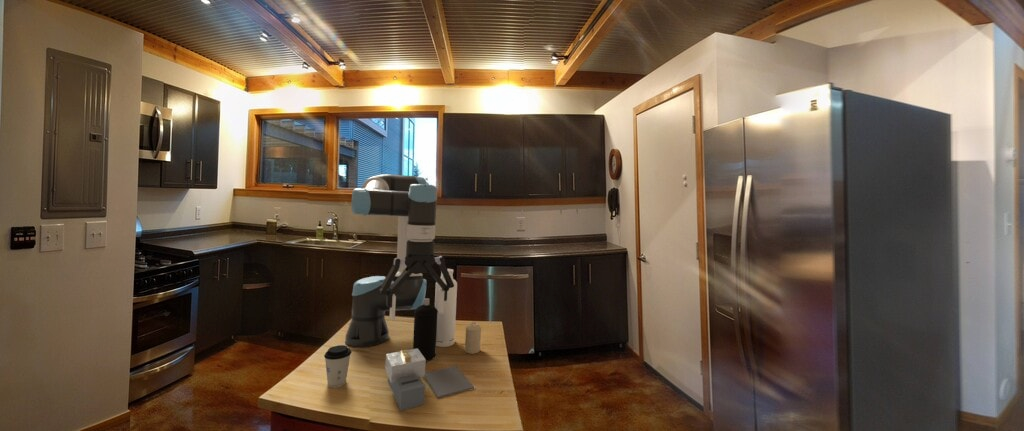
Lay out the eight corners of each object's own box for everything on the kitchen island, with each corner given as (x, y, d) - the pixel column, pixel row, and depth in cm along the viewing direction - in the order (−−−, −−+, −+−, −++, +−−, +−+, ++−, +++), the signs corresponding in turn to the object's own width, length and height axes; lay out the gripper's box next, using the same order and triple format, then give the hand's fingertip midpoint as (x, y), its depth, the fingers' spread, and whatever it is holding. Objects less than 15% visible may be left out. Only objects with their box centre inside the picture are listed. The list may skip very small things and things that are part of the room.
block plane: (387, 380, 96) (388, 360, 96) (408, 376, 99) (409, 356, 99) (400, 410, 82) (401, 386, 82) (424, 404, 85) (425, 381, 85)
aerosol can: (429, 363, 108) (432, 303, 107) (407, 359, 109) (409, 300, 109) (440, 352, 116) (442, 297, 115) (418, 349, 117) (421, 294, 117)
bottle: (431, 339, 126) (434, 268, 126) (451, 337, 130) (454, 267, 129) (435, 348, 119) (438, 272, 119) (456, 345, 123) (460, 271, 122)
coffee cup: (353, 376, 97) (355, 343, 97) (345, 389, 90) (347, 353, 90) (328, 377, 96) (329, 343, 96) (318, 390, 89) (320, 354, 89)
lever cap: (385, 369, 92) (386, 350, 92) (417, 363, 97) (417, 345, 97) (391, 383, 85) (392, 362, 85) (424, 375, 90) (425, 356, 90)
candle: (465, 347, 121) (466, 320, 121) (480, 347, 122) (481, 321, 122) (464, 353, 116) (465, 326, 116) (479, 354, 116) (481, 326, 116)
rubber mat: (422, 374, 100) (422, 373, 100) (456, 367, 106) (456, 365, 106) (437, 398, 88) (437, 396, 88) (474, 388, 94) (474, 386, 94)
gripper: (375, 242, 80) (372, 327, 81) (467, 241, 94) (463, 313, 95) (370, 238, 86) (366, 317, 87) (456, 238, 100) (453, 306, 101)
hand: (417, 315), depth 91 cm, fingers open, 13 cm apart
